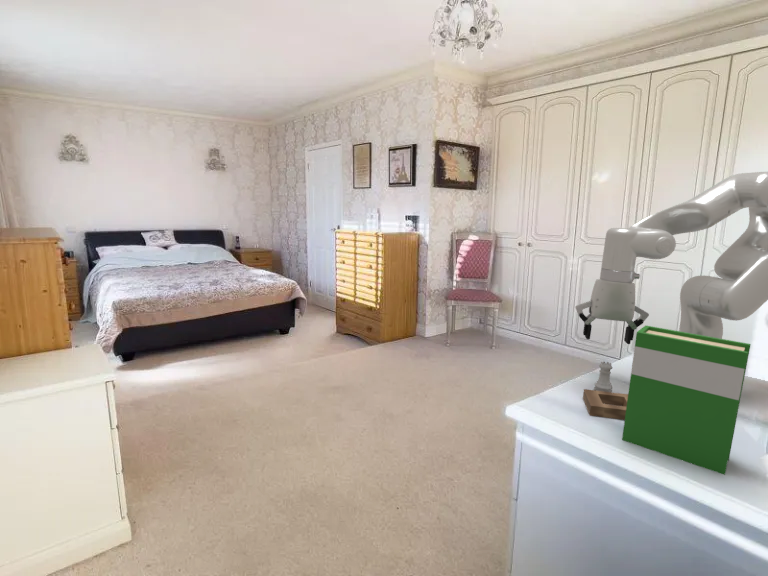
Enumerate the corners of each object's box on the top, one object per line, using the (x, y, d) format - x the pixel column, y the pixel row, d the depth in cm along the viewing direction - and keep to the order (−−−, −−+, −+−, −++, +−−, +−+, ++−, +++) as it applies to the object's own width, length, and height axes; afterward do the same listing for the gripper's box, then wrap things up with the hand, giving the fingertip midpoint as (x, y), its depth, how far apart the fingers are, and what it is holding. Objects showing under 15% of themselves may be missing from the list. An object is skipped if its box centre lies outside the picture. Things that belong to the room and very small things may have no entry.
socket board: (651, 406, 110) (652, 397, 110) (665, 425, 101) (666, 415, 101) (582, 398, 115) (583, 389, 114) (589, 415, 105) (590, 405, 105)
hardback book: (729, 458, 88) (750, 344, 84) (724, 474, 83) (747, 353, 78) (631, 427, 100) (645, 325, 95) (622, 440, 94) (636, 332, 90)
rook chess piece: (614, 395, 117) (617, 366, 115) (596, 393, 117) (599, 365, 116) (609, 388, 121) (612, 361, 119) (591, 387, 122) (595, 359, 120)
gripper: (649, 277, 115) (639, 340, 118) (577, 271, 119) (570, 332, 122) (658, 281, 107) (647, 348, 111) (582, 275, 112) (573, 340, 115)
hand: (606, 340), depth 116 cm, fingers open, 9 cm apart
